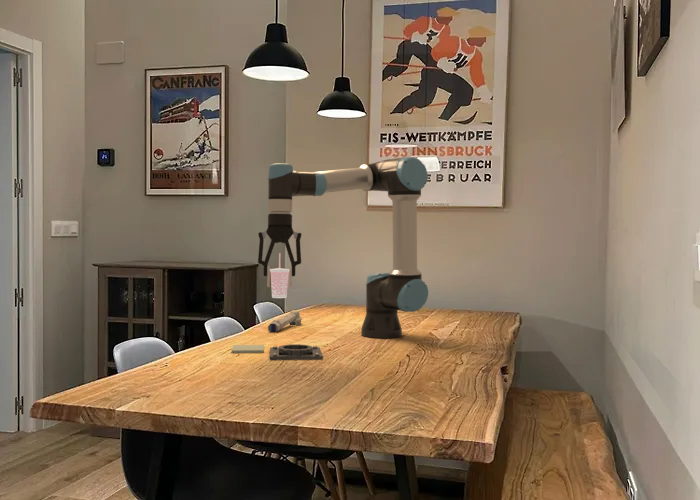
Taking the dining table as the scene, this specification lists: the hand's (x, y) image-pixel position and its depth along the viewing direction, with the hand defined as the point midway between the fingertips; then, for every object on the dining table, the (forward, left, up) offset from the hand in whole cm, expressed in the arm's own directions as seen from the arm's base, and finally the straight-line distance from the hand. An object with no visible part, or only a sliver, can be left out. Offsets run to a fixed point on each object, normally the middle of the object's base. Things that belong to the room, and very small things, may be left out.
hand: (279, 286), depth 219 cm
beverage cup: (0, 0, -4) cm, 4 cm away
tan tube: (-3, -55, -22) cm, 59 cm away
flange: (-5, +3, -21) cm, 22 cm away
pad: (+10, -6, -21) cm, 24 cm away
